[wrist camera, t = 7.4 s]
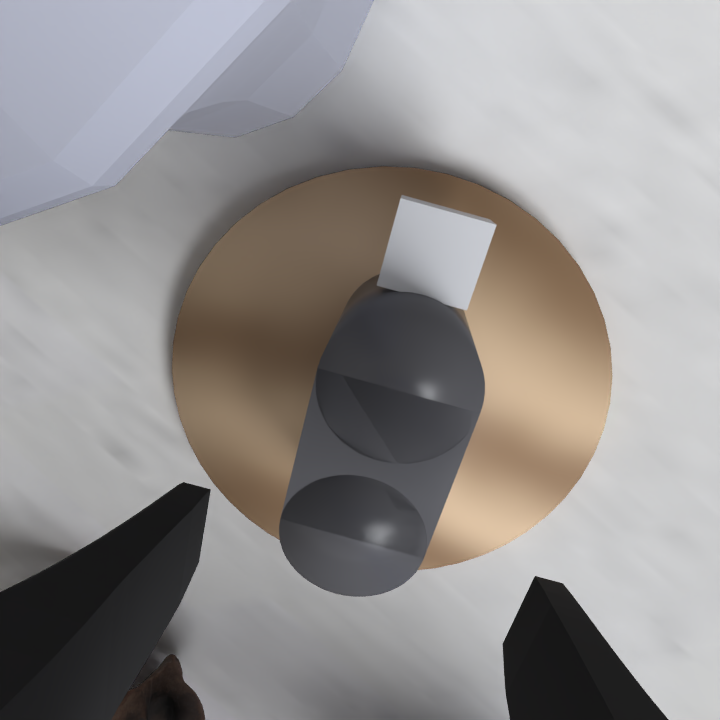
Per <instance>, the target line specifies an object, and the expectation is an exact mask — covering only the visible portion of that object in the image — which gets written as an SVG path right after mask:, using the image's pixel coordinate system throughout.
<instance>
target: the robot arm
mask: <svg viewBox="0 0 720 720" xmlns="http://www.w3.org/2000/svg"><path fill="white" fill-rule="evenodd" d="M209 496H210V489H207V488H203V487H199V486H195V485H192V484H188V483H184V482H183V483H181V484H179V485H177V486H176V487H175V488H173V489H172V490H170V491H169V492H168V493H166V494H165V495H163V496H162V497H160V498H159V499H158V500H156V501H155V502H153V503H152V504H151V505H149V506H148V507H146V508H145V509H143V510H142V511H140V512H139V513H137V514H136V515H134V516H133V517H132V518H130V519H128V520H127V521H125V522H124V523H122V524H121V525H119V526H118V527H116V528H115V529H113V530H111V531H110V532H108V533H107V534H105V535H104V536H102V537H101V538H99V539H97V540H96V541H94V542H92V543H91V544H89V545H87V546H86V547H84V548H82V549H80V550H79V551H77V552H75V553H74V554H72V555H70V556H68V557H67V558H65V559H63V560H62V561H60V562H58V563H56V564H55V565H53V566H51V567H49V568H47V569H45V570H43V571H42V572H40V573H38V574H36V575H34V576H32V577H30V578H28V579H26V580H24V581H22V582H20V583H18V584H16V585H14V586H12V587H10V588H8V589H6V590H4V591H2V592H0V720H111V719H112V718H113V716H114V714H115V712H116V710H117V709H118V707H119V705H120V704H121V702H122V700H123V699H124V697H125V695H126V694H127V692H128V690H129V689H130V687H131V685H132V684H133V682H134V680H135V679H136V677H137V675H138V674H139V672H140V670H141V669H142V667H143V665H144V664H145V662H146V660H147V659H148V657H149V655H150V654H151V652H152V650H153V649H154V647H155V645H156V644H157V642H158V640H159V639H160V637H161V635H162V634H163V632H164V630H165V629H166V627H167V625H168V624H169V622H170V620H171V619H172V617H173V615H174V613H175V612H176V610H177V608H178V607H179V604H180V602H181V600H182V598H183V596H184V594H185V592H186V589H187V587H188V585H189V583H190V581H191V578H192V576H193V574H194V572H195V570H196V567H197V565H198V563H199V558H200V552H201V546H202V539H203V533H204V527H205V521H206V515H207V509H208V502H209ZM503 658H504V676H505V689H506V698H507V704H508V710H509V715H510V720H668V719H667V717H666V716H665V715H664V714H663V713H662V711H661V710H660V709H659V708H658V707H657V705H656V704H655V703H654V702H653V701H652V699H651V698H650V697H649V696H648V694H647V693H646V692H645V691H644V689H643V688H642V687H641V686H640V684H639V683H638V682H637V681H636V679H635V678H634V677H633V675H632V674H631V673H630V672H629V670H628V669H627V668H626V666H625V665H624V664H623V662H622V661H621V660H620V659H619V657H618V656H617V655H616V653H615V652H614V651H613V649H612V648H611V647H610V645H609V644H608V643H607V641H606V640H605V639H604V637H603V636H602V635H601V633H600V632H599V631H598V629H597V628H596V626H595V625H594V624H593V622H592V621H591V620H590V618H589V617H588V616H587V614H586V613H585V612H584V610H583V609H582V608H581V606H580V605H579V604H578V602H577V601H576V600H575V598H574V597H573V596H572V594H571V593H570V592H569V591H568V589H567V588H566V587H565V586H564V584H563V583H559V582H555V581H552V580H548V579H544V578H540V577H537V576H535V577H534V579H533V581H532V584H531V586H530V588H529V590H528V592H527V594H526V596H525V598H524V600H523V602H522V605H521V607H520V609H519V611H518V613H517V615H516V617H515V619H514V621H513V623H512V625H511V628H510V630H509V632H508V634H507V636H506V638H505V640H504V642H503Z"/></svg>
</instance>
